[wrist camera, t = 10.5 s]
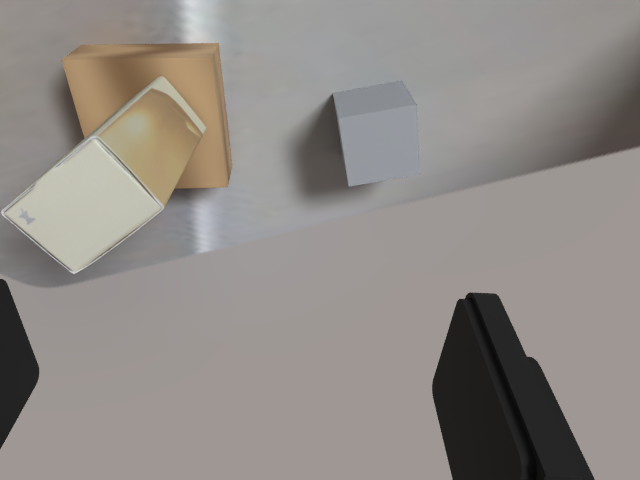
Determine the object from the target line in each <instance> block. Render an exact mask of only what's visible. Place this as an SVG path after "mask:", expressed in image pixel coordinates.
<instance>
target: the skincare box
mask: <svg viewBox="0 0 640 480" xmlns="http://www.w3.org/2000/svg"><path fill="white" fill-rule="evenodd" d="M205 130H206V126H205V125H204V124H203V122H202V121H201V120H200V119H199V117H198V116H197V115H196V114H195V112H194V111H193V110H192V109H191V107H190V106H189V105H188V104H187V103H186V101H185V100H184V99H183V98H182V97H181V95H180V94H179V93H178V92H177V91H176V90H175V88H174V87H173V86H172V85H171V84H170V83H169V81H168V80H167V79H166V78H165V77H163V76H160V77H158V78H157V79H155V80H154V81H153V82H151V83H150V84H149V85H147V86H146V87H145V88H144V89H142V90H141V91H140V92H139V93H137V94H136V95H135V96H134V97H132V98H131V99H130V100H129V101H128V102H126V103H125V104H124V105H123V106H122V107H120V108H119V109H118V110H117V111H116V112H115V113H114V114H112V115H111V116H110V117H109V118H108V119H107V120H106V121H104V122H103V123H102V124H101V125H100V126H99V127H98V128H96V129H95V130H94V131H93V132H92V133H90V134H89V135H88V136H87V137H86V138H84V139H83V140H82V141H81V142H80V143H78V144H77V145H76V146H75V147H74V148H73V149H72V150H70V151H69V152H68V153H67V154H66V155H65V156H63V157H62V158H61V159H60V160H59V161H58V162H56V163H55V164H54V165H53V166H52V167H51V168H49V169H48V170H47V171H46V172H45V173H44V174H43V175H42V176H40V177H39V178H38V179H37V180H36V181H35V182H34V183H33V184H31V185H30V186H29V187H28V188H27V189H26V190H24V191H23V192H22V193H21V194H20V195H19V196H17V197H16V198H15V199H14V200H13V201H12V202H11V203H10V204H8V205H7V206H6V207H5V208H4V209H3V210H2V211H1V214H2V215H3V216H4V217H5V218H6V219H7V220H9V221H10V222H11V223H13V224H14V225H15V226H16V227H17V228H18V229H19V230H20V231H22V232H23V233H24V234H25V235H26V236H27V237H28V238H30V239H31V240H32V241H33V242H35V243H36V244H37V245H38V246H39V247H40V248H41V249H43V250H44V251H45V252H46V253H47V254H49V255H50V256H51V257H52V258H53V259H55V260H56V261H57V262H58V263H60V264H61V265H63V266H64V267H65V268H66V269H68V270H69V271H70V272H71V273H73V274H75V273H78V272H79V271H81V270H82V269H84V268H86V267H87V266H89V265H90V264H92V263H94V262H95V261H96V260H98V259H99V258H101V257H102V256H104V255H105V254H106V253H108V252H109V251H111V250H112V249H113V248H115V247H116V246H117V245H119V244H120V243H121V242H123V241H124V240H125V239H127V238H128V237H129V236H131V235H132V234H133V233H135V232H136V231H137V230H138V229H140V228H141V227H142V226H143V225H145V224H146V223H147V222H148V221H150V220H151V219H152V218H153V217H155V216H156V215H157V214H158V213H160V212H161V211H162V210H163V209H164V208H165V206H166V204H167V202H168V200H169V198H170V196H171V194H172V192H173V191H174V189H175V187H176V185H177V183H178V181H179V179H180V177H181V175H182V174H183V172H184V170H185V168H186V166H187V164H188V162H189V160H190V159H191V157H192V155H193V153H194V151H195V149H196V147H197V145H198V143H199V142H200V140H201V138H202V136H203V134H204V132H205Z"/></svg>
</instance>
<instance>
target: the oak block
mask: <svg viewBox="0 0 640 480" xmlns="http://www.w3.org/2000/svg"><path fill="white" fill-rule="evenodd" d="M62 63H63V67H64V70H65V73H66V77H67V80H68V84H69V87H70V91H71V94H72V97H73V101H74V104H75V108H76V111H77V115H78V118H79V121H80V125H81V128H82V132H83V135H84V138H86V137H87V136H88V135H89V134H90V133H92V132H93V131H94V130H95V129H96V128H98V127H99V126H100V125H101V124H102V123H103V122H104V121H106V120H107V119H108V118H109V117H110V116H111V115H112V114H114V113H115V112H116V111H117V110H118V109H119V108H120V107H122V106H123V105H124V104H125V103H126V102H128V101H129V100H130V99H131V98H132V97H134V96H135V95H136V94H137V93H139V92H140V91H141V90H142V89H144V88H145V87H146V86H147V85H149V84H150V83H151V82H153V81H154V80H155V79H157V78H158V77H160V76H163V77H165V78H166V79H167V80H168V81H169V83H170V84H171V85H172V86H173V87H174V88H175V90H176V91H177V92H178V93H179V94H180V95H181V97H182V98H183V99H184V100H185V101H186V103H187V104H188V105H189V106H190V107H191V109H192V110H193V111H194V112H195V114H196V115H197V116H198V117H199V119H200V120H201V121H202V122H203V124H204V125H205V126H206V130H205V132H204V134H203V136H202V138H201V140H200V142H199V143H198V145H197V147H196V149H195V151H194V153H193V155H192V157H191V159H190V160H189V162H188V164H187V166H186V168H185V170H184V172H183V174H182V175H181V177H180V179H179V181H178V183H177V185H176V187H175V189H179V188H217V187H228V184H229V179H230V174H231V169H232V158H231V149H230V140H229V131H228V122H227V114H226V105H225V96H224V87H223V78H222V69H221V60H220V51H219V43H192V44H121V45H81V46H80V47H78V48H77V49H75V50H74V51H73V52H71V53H70V54H69V55H67V56H66V57H65V58H63V59H62Z"/></svg>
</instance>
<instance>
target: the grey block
mask: <svg viewBox="0 0 640 480" xmlns="http://www.w3.org/2000/svg"><path fill="white" fill-rule="evenodd" d="M333 98H334V105H335V111H336V118H337V124H338V131H339V137H340V144H341V150H342V156H343V161H344V166H345V171H346V176H347V181H348V186H349V187H350V186H356V185H361V184H367V183H373V182H379V181H385V180H390V179H396V178H402V177H408V176H414V175H420V174H421V173H420V155H419V137H418V119H417V104H416V103H415V101H414V99H413V98H412V96H411V94H410V93H409V91H408V89H407V88H406V86H405V84H404V83H403V81H396V82H391V83H385V84H380V85H374V86H369V87H364V88H358V89H353V90H347V91H342V92H336V93H333Z"/></svg>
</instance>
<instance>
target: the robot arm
mask: <svg viewBox="0 0 640 480" xmlns="http://www.w3.org/2000/svg"><path fill="white" fill-rule="evenodd" d="M38 378H39V367H38V363H37V361H36V358H35V356H34V353H33V350H32V348H31V345H30V342H29V340H28V337H27V334H26V332H25V329H24V327H23V324H22V321H21V319H20V316H19V313H18V311H17V308H16V306H15V303H14V301H13V298H12V295H11V292H10V290H9V287H8V285H7V283H6V281H4V280H3V279H0V448H1V447H2V445H3V443H4V442H5V440H6V438H7V436H8V434H9V432H10V431H11V429H12V427H13V425H14V424H15V422H16V420H17V418H18V416H19V414H20V413H21V411H22V409H23V407H24V405H25V404H26V402H27V400H28V398H29V397H30V395H31V393H32V391H33V389H34V388H35V386H36V383H37V381H38ZM432 391H433V398H434V403H435V407H436V411H437V415H438V420H439V424H440V428H441V432H442V436H443V440H444V445H445V449H446V453H447V457H448V461H449V465H450V470H451V474H452V478H453V480H594V477H593V475H592V473H591V471H590V469H589V467H588V465H587V463H586V461H585V458H584V457H583V454H582V452H581V450H580V448H579V446H578V444H577V442H576V440H575V438H574V436H573V433H572V431H571V429H570V427H569V425H568V423H567V421H566V419H565V417H564V415H563V413H562V410H561V409H560V406H559V404H558V402H557V400H556V398H555V396H554V394H553V392H552V390H551V388H550V386H549V383H548V381H547V380H546V377H545V375H544V373H543V371H542V369H541V367H540V366H539V364H538V362H537V361H536V360H535V359H534V358H532V357H527V356H526V354H525V352H524V350H523V348H522V345H521V343H520V341H519V339H518V337H517V335H516V332H515V330H514V328H513V326H512V324H511V322H510V320H509V317H508V315H507V313H506V311H505V309H504V306H503V305H502V302H501V300H500V298H499V296H498V295H497V294H489V293H468V294H467V295H466V298H465V299H459V300H458V301H457V304H456V307H455V311H454V314H453V317H452V320H451V324H450V327H449V330H448V333H447V337H446V340H445V343H444V347H443V350H442V353H441V356H440V359H439V363H438V366H437V369H436V373H435V376H434V379H433V385H432Z"/></svg>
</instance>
